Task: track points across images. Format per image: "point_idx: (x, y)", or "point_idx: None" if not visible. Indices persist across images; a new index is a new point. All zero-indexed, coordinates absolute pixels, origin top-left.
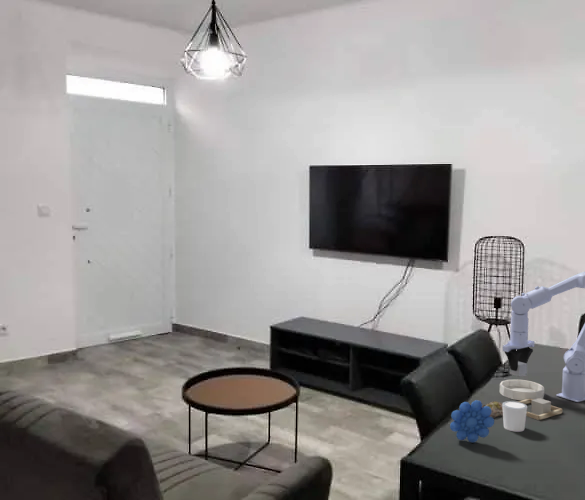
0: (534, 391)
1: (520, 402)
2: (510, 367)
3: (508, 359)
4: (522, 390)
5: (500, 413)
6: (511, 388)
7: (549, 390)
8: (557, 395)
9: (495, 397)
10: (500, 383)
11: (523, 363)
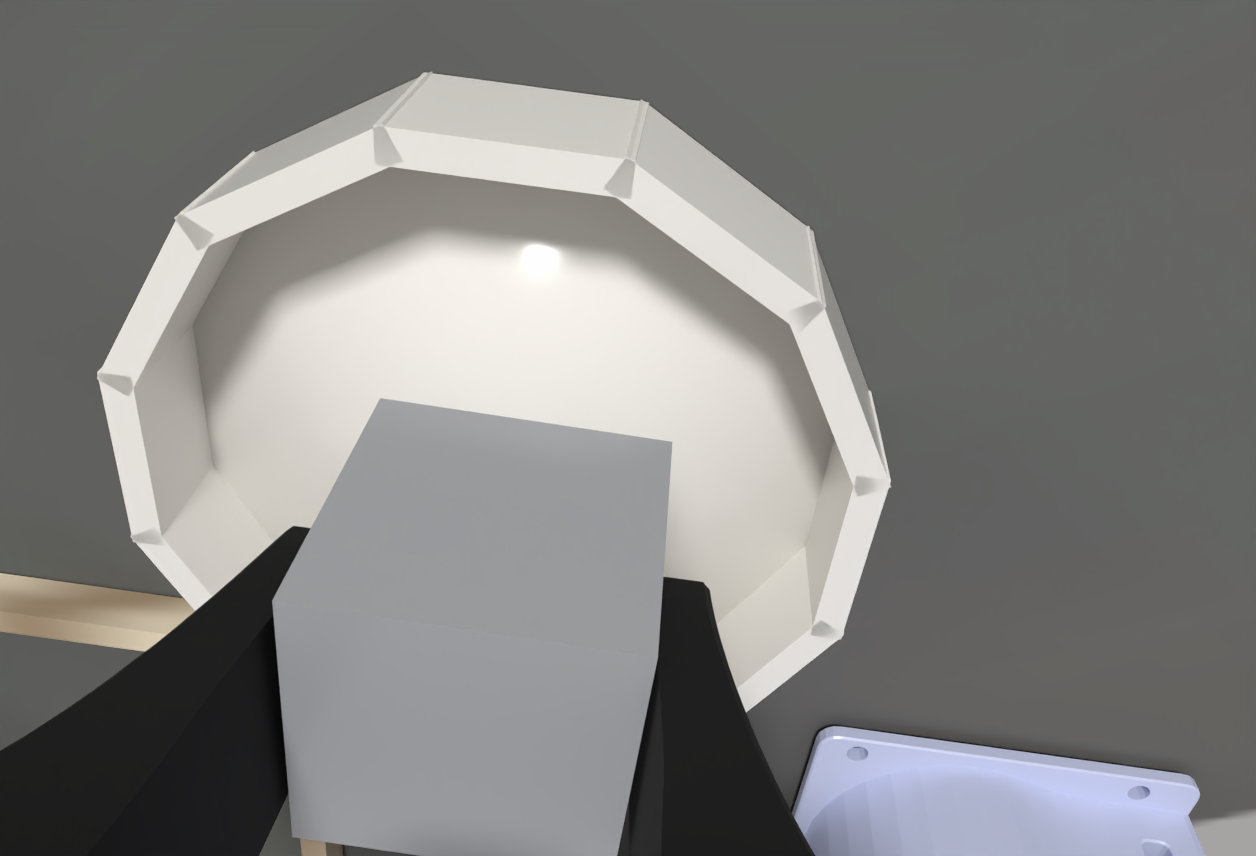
0: (726, 533)
1: (79, 636)
2: (254, 566)
3: (66, 723)
4: (619, 402)
5: None
6: (562, 229)
7: (1039, 588)
8: (815, 748)
9: (2, 244)
10: (230, 199)
11: (550, 830)
